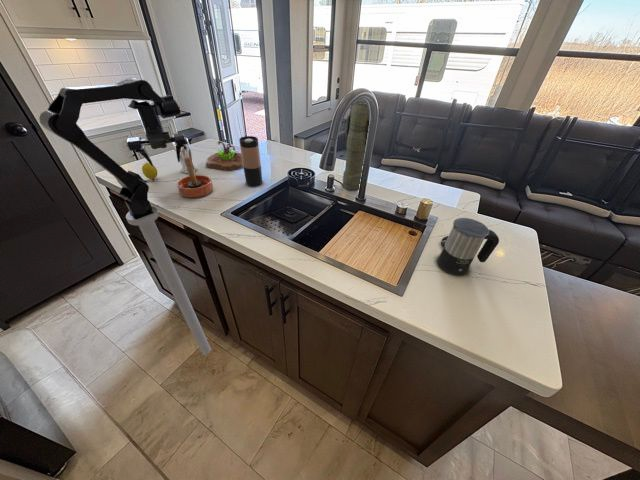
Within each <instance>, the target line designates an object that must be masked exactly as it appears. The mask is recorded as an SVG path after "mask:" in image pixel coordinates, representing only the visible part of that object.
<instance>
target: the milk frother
mask: <svg viewBox="0 0 640 480" xmlns="http://www.w3.org/2000/svg"><path fill="white" fill-rule="evenodd" d="M452 224H453V226H452V227H451V230H450V232H449V234H448V235H446V236H443V238H441V240H440V244H441V245H440V246H442V250H441V252H440V254H439V256H438V257H437V258H436V263H437V265H438V266H439V268H440V269H442V271H444V272H445V273H448V274H450V275H453V276H463V275H466V274H467V273H468V272H469V268H470V266H471V265H472V263H473V261H474V259H475V257H476V258H477V259H478V262H480V263H485V262H487V260H488V259H489V257H490V256H491V254H492V253H493V252H494V250H495V249H496V248H497V246H498V245H499V243H500V238H499V236H498V234H497V233H496V232H495V231H494V230H492V229H489V228H488V227H487V226H486V225H485V224H484V223H482V222H480V221H479V220H476V219H473V218H468V217H459V218H456V219H455V220H453V223H452ZM484 240H485V242H484ZM483 242H484V244H483ZM482 244H483V245H482ZM481 245H482V247H481ZM480 247H481V249H480Z"/></svg>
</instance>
